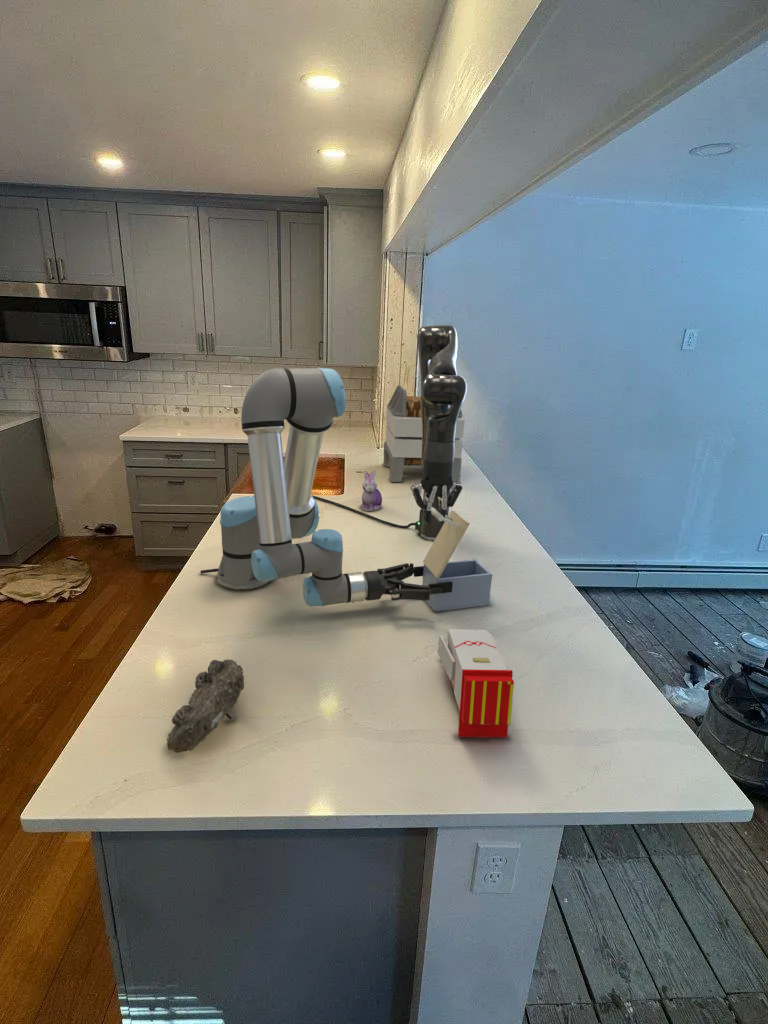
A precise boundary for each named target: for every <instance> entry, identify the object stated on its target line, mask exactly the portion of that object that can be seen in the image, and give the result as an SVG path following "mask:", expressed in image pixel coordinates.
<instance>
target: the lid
mask: <svg viewBox="0 0 768 1024" xmlns="http://www.w3.org/2000/svg"><path fill="white" fill-rule="evenodd" d="M431 511H432V512H431V514H432V515H434V516H435V517H436V518H437V519H438V520H439V521H445V523H444V525H443V526H442V528H441V530H440V532H439V534H438V535H437V537H436V539H435V541H433V542H432V544H431V546H430V548H429V550H428V552H427V553H426V555H425V557H424V559H423V560H422V563H423V565H424V564H425V565H426V566H427V568H428V569H429V570H430V571H431V572H432V573H433V574H434V576H435V577H436V578H438V579H439V577H440V576H441V574H442V572H443V570H444V569H445V567H446V565H447V563H448V562H450V560H451V558H452V556H453V555H454V553H455V551H456V549H457V548H458V545H459V544H460V542H461V540H462V539H463V537H464V535H465V533H466V532H467V530H468V528H469V526H470V524H471V523H470V521H469V522H468V520H466V519H465V518H464V517H463V516H461V514H459V513H458V512H457V511H455V510H454V509H451V510H450V511H449V516H447V515H445V518H444V517H443V516H442V515H441V514H440V513H439V512H438V511H437V510H435V509H434V508H433V507H431Z"/></svg>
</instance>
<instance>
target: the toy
mask: <svg viewBox="0 0 768 1024" xmlns="http://www.w3.org/2000/svg"><path fill="white" fill-rule="evenodd" d="M446 640H447V643H446V641H445V639H444V636H443V635H442V634H439V637H438V646H437V656H438V657H439V659H440V661H441V663H442V666H443V668H444V670H445V672H446V674H447V677H448V679H449V681H450V684H451V687H452V690H453V693H454V697H455V701H456V705H457V708H458V711H459V714H458V715H459V716H458V730H457V731H458V732H457V737H458V738H508V731H509V726H510V725H511V717H512V707H513V697H514V696H513V695H514V684H515V680H514V679H513V673H514V671H513V670H512V669H508V667H507V665H506V662H505V661H504V659H503V658H502V655H501V653H500V651H499V649H498V647H497V643H496V639H495V637H494V635H493V634H491V632H490V631H489V629H467V628H466V629H465V628H463V629H461V628H460V629H459V628H448V630H447V639H446Z"/></svg>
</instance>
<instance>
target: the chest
mask: <svg viewBox="0 0 768 1024" xmlns="http://www.w3.org/2000/svg"><path fill="white" fill-rule="evenodd" d="M423 566H424V568H423V576H422V583H421V585H424V586H428V584H434V583H444V582H452V583H453V586H452V592H449V593H440V594H431V595H430V600H425V601H426V602H427V604H428V605H429V606H430V608H431V609H432V610H433V612H436V613H437V612H443V611H451V610H459V609H467V608H468V609H469V608H477V607H484V606H489V605H490V599H491V598H490V597H491V589H492V582H493V581H492V580H493V573H491V571H489V570H488V569H487V568H486V567H485V566H484V565H483V564H482V563H481V562H480V561H479V560H478V559H477V558H473V559H465V560H456V561H455V560H454V561H448V563H447V565H446V567H445V569H444V570H443V572H442V574H441V576H440V577H439V579H438V578H436V577H435V576H434V574H433V573H432V572H431V571H430V570H429V569H428V568H427V566H426V565H425V564H424V563H423Z"/></svg>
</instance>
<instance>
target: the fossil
mask: <svg viewBox="0 0 768 1024" xmlns="http://www.w3.org/2000/svg"><path fill="white" fill-rule="evenodd" d="M243 670H244V669H243V667H242V665H240V664H237V662H236V661H235V660H234V659H232V658H231V659H227V658H226V659H224V660H223V661H222V660H217V659H212V660H211V661H210V663H209V665H208V666H207V671H201V672H199V673H198V674H197V675H196V676H195V680H194V684H195V685H194V687H195V689H194V690H193V693H192V694H191V697H190V698H189V700H188V704H184V705H182V706H181V707H180V709H177V710H176V711H175V713H174V715H173V716H172V718H171V723H172V724H173V727H172V730H171V731H170V732H168V734H167V738H166V741H167V742H166V745H167V749H168V750H169V751H173V752H174V753H176V754H178V753H182V752H188V751H189V752H192V751H193V750H195V748H196V747H197V746H199V744H200V743H201V742H203V741H204V740H205V739H206V738H207V737H208V736H209V735H210V734H211V733H212V732H214V730H215V729H217V727H218V726H219V724H220V722H221V721H222V720H223V719H224V718H225V716H226V717H227V719H229V720H233V717H232V715H230V714H229V710H230V709H231V708H234V706H235V704H236V703H237V702H238V699H239V697H240V695H241V693H242V691H243V690H245V689H244V688H245V675H244V671H243Z"/></svg>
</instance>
